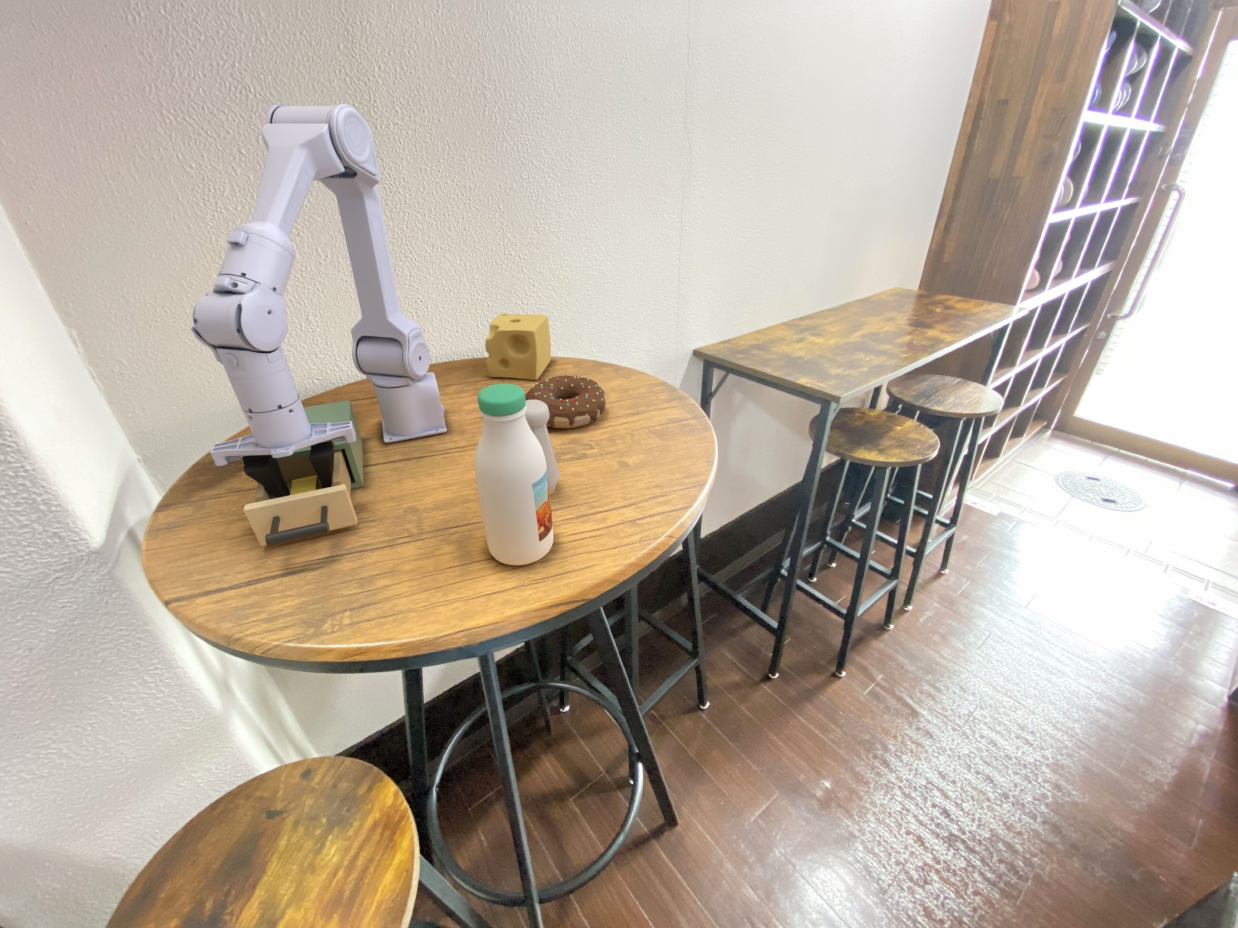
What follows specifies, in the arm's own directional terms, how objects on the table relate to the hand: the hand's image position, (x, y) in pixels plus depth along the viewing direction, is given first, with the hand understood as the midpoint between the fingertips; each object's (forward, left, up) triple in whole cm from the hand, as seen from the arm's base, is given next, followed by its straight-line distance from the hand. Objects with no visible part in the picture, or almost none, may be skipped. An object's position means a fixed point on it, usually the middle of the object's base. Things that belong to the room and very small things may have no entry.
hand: (309, 499), depth 67 cm
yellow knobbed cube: (0, 0, 0) cm, 1 cm away
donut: (-38, -14, -3) cm, 41 cm away
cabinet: (0, -11, -2) cm, 11 cm away
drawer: (0, +2, -1) cm, 2 cm away
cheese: (-36, -36, -3) cm, 51 cm away
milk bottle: (-23, +16, -3) cm, 28 cm away
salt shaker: (-28, +6, -3) cm, 29 cm away
